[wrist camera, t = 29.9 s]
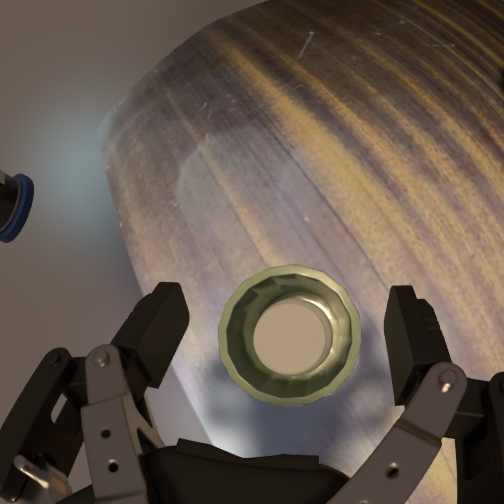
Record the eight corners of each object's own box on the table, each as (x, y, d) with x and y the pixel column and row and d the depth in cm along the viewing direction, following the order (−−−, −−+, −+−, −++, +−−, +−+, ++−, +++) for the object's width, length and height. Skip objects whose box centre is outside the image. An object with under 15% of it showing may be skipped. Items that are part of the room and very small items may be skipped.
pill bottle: (270, 302, 21) (246, 290, 14) (331, 305, 21) (339, 293, 13) (265, 362, 20) (238, 380, 13) (326, 366, 19) (332, 387, 12)
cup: (277, 393, 20) (256, 427, 13) (236, 314, 22) (196, 306, 15) (360, 350, 20) (385, 362, 12) (317, 270, 22) (316, 239, 14)
